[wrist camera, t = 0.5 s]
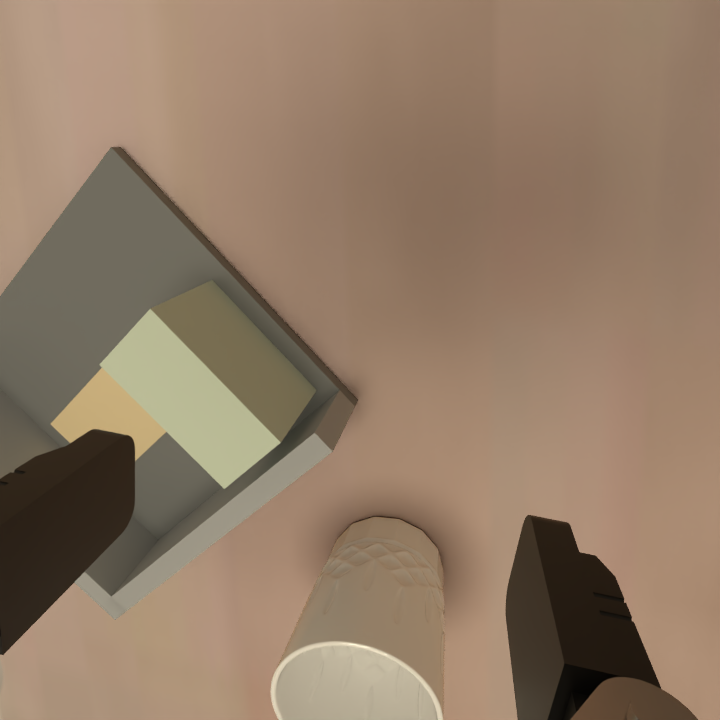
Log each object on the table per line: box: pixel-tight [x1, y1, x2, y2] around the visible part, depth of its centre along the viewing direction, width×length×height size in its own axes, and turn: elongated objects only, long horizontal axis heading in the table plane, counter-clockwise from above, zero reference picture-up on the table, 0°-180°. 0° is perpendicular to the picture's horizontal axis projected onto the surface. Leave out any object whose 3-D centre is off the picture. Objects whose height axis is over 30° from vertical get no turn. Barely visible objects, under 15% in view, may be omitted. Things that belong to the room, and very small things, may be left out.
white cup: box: [271, 517, 445, 720], centre depth 30 cm, size 8×8×10 cm
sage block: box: [99, 280, 317, 489], centre depth 28 cm, size 4×8×6 cm, turn 44°
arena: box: [0, 147, 358, 620], centre depth 30 cm, size 18×18×6 cm
